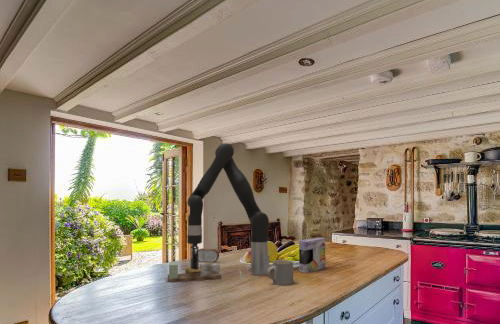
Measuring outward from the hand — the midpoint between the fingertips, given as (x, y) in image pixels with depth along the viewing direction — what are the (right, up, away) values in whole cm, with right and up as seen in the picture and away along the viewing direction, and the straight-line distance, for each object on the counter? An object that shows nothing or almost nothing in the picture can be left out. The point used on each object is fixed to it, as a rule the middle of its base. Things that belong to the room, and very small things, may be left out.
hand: (194, 267), depth 176 cm
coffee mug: (+43, -5, -10) cm, 45 cm away
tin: (+1, -10, +43) cm, 44 cm away
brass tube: (+4, -3, +1) cm, 5 cm away
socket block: (-10, -4, -3) cm, 11 cm away
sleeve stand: (0, -5, -1) cm, 5 cm away
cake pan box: (+64, -7, +17) cm, 67 cm away
